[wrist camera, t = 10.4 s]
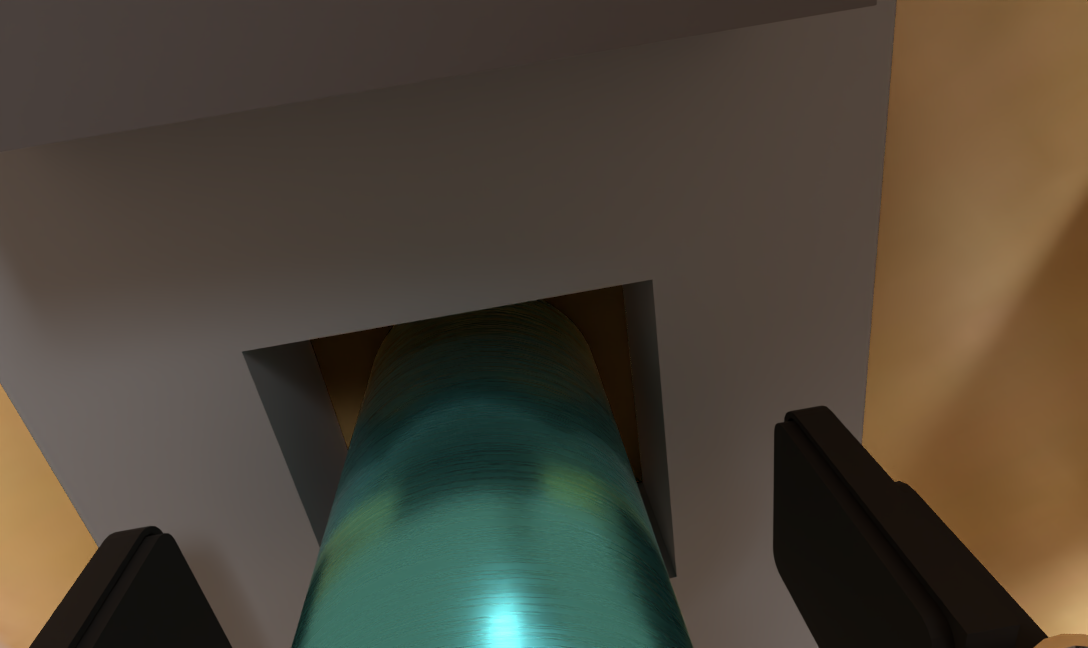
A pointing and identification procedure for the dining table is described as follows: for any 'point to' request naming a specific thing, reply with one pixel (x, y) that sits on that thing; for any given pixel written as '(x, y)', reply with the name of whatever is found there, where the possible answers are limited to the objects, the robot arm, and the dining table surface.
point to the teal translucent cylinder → (488, 500)
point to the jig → (431, 249)
